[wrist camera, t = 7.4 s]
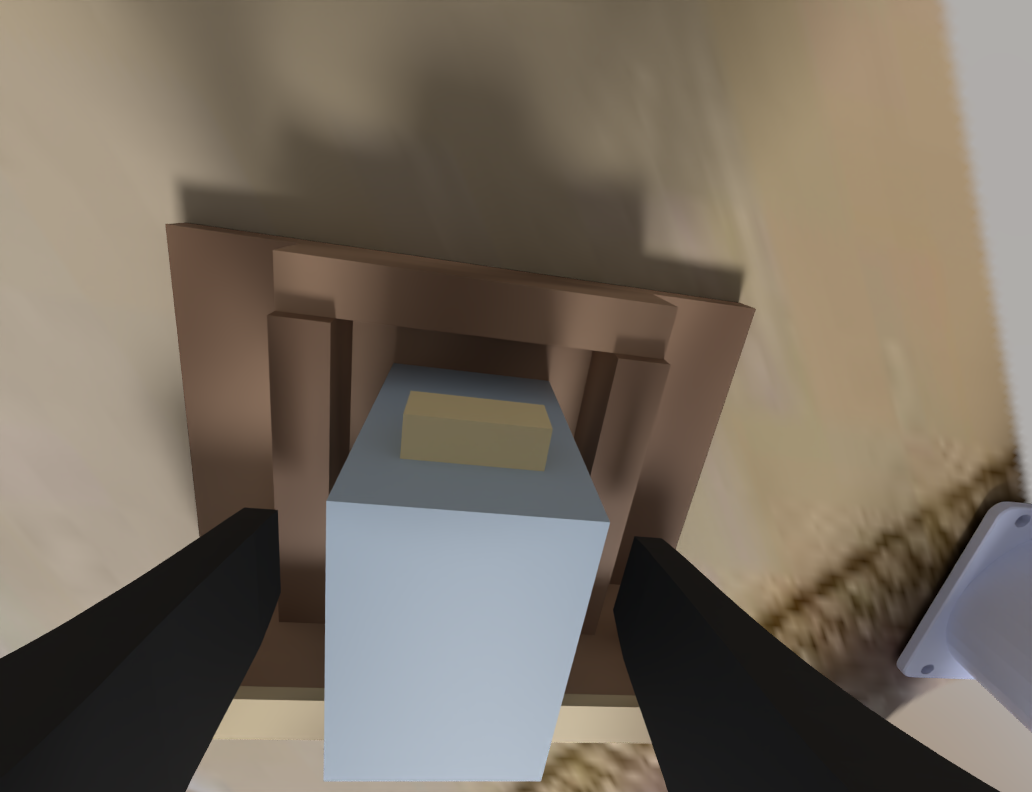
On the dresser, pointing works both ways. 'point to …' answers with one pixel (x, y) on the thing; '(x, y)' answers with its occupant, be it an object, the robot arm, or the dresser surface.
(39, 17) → the dresser surface
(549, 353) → the rack
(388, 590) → the cabinet block
